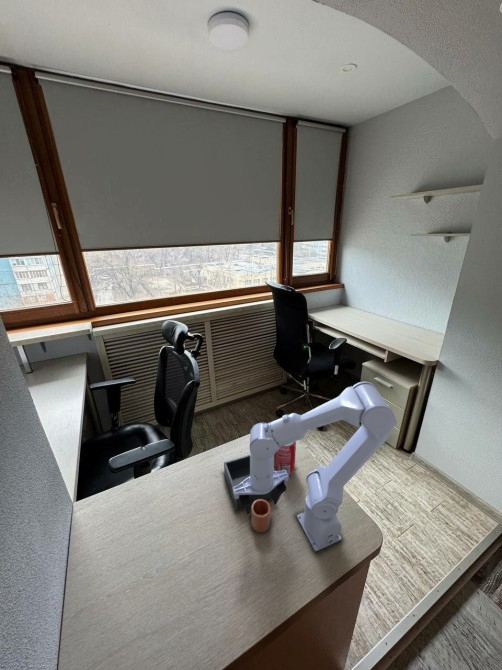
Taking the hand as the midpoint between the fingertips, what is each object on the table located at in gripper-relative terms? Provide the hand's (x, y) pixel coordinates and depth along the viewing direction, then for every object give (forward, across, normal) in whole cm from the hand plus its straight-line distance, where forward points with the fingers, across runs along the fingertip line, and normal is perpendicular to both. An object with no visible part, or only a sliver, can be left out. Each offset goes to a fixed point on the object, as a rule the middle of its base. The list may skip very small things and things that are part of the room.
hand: (260, 506), depth 71 cm
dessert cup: (+7, 0, 0) cm, 7 cm away
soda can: (+7, -14, -14) cm, 21 cm away
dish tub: (+7, -1, -12) cm, 14 cm away
